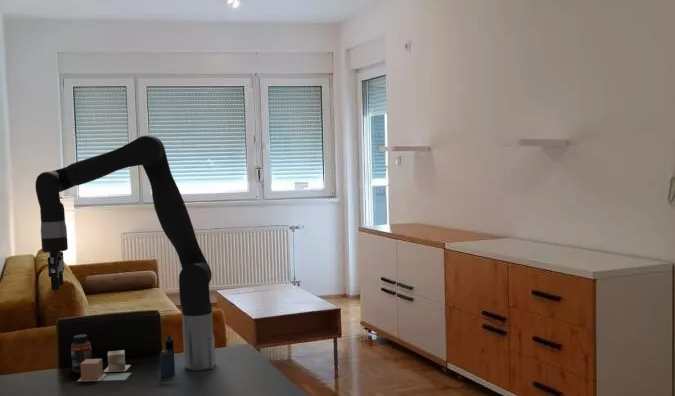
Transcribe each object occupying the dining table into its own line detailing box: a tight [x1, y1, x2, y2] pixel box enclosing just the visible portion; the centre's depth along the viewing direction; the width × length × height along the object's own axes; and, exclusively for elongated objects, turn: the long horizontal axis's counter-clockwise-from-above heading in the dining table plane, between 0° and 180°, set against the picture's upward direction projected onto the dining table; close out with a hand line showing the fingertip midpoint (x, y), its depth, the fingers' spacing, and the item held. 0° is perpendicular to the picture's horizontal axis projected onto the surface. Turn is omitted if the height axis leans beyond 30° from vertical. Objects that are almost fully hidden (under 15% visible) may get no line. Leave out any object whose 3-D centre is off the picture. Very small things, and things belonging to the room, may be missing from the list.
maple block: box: [107, 349, 126, 371], centre depth 241 cm, size 5×5×5 cm
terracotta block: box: [80, 358, 104, 380], centre depth 232 cm, size 5×5×5 cm
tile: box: [103, 364, 132, 373], centre depth 241 cm, size 7×7×1 cm
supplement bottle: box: [70, 333, 93, 373], centre depth 240 cm, size 6×6×11 cm
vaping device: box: [159, 335, 176, 378], centre depth 232 cm, size 3×5×12 cm, turn 155°
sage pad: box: [101, 372, 132, 382], centre depth 232 cm, size 7×7×1 cm
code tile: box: [77, 373, 107, 382], centre depth 232 cm, size 7×7×1 cm
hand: (57, 287), depth 237 cm, fingers open, 8 cm apart
